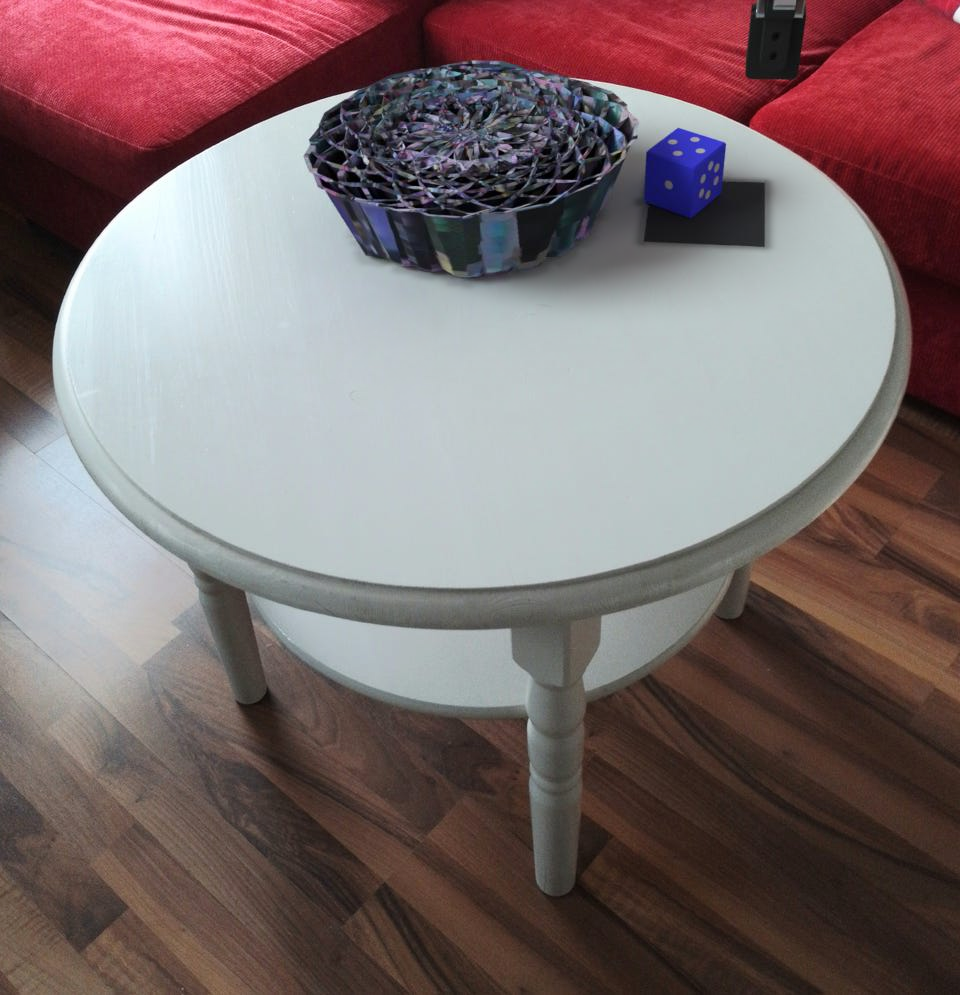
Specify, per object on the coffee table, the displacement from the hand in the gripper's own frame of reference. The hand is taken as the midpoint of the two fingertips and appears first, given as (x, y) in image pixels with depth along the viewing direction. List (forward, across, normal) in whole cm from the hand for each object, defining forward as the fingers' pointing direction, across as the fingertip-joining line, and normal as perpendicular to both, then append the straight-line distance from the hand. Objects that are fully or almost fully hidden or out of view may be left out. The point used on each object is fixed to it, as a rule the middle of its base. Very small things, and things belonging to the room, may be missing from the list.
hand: (770, 72), depth 69 cm
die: (+21, +19, +5) cm, 29 cm away
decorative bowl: (+21, +15, +23) cm, 35 cm away
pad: (+21, +17, +3) cm, 27 cm away
